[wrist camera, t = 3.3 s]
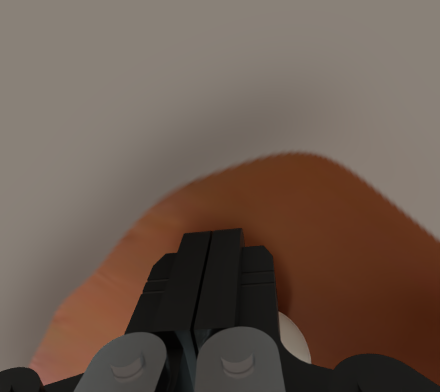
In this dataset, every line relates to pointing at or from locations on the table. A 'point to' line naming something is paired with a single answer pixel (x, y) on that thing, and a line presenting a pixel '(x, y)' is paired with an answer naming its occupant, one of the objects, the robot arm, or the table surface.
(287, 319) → the cue ball
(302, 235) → the table surface
